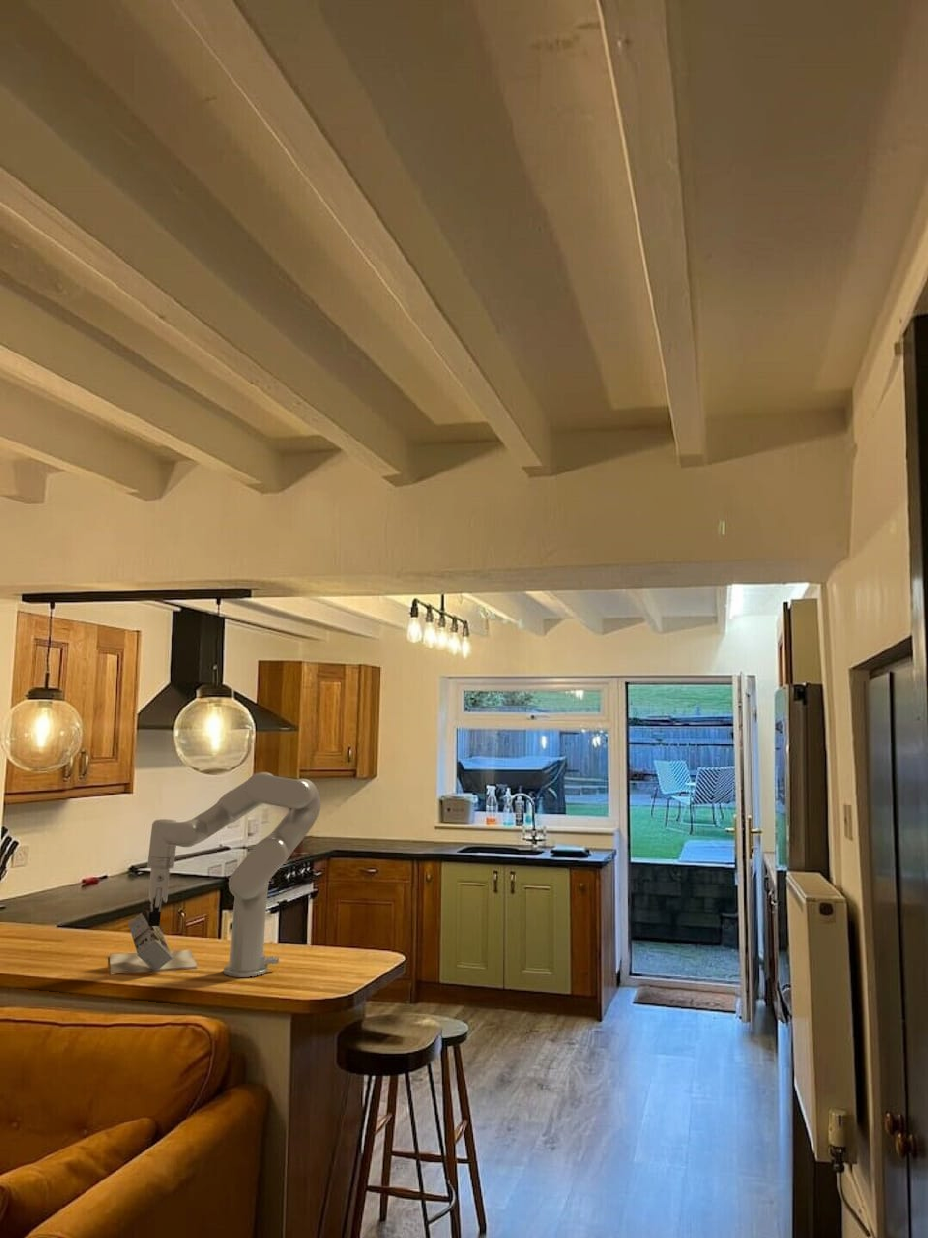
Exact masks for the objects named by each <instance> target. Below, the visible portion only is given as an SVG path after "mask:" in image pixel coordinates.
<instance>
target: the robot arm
mask: <svg viewBox="0 0 928 1238" xmlns="http://www.w3.org/2000/svg"><path fill="white" fill-rule="evenodd" d="M263 804H264V805H270V806H277V807H282V808H287V809H288V808H289V809H290V810H289V812H288V813H287V814H286V815H285V817H284V818H282V820H281V821H280V822H279V823H278V825H277V826H276V827H275V828H274V829H273V831H272V832H271V833H270V834H268V835H267V836H265V837H264V838H262V839H261V840H260V841H258V843H256V845H255V846H254V847H253V848H252V849H251V851H250V852H249V853H248V854H247V856H246V857H245V858H244V859H243V860H242V861H241V863H240V864H239V865H238V866H237V867H236V868H235V869H234V871H233V872H232V873H231V875H230V877H229V881H228V888H229V891H230V893H231V895H232V896H233V897H234V900H233V907H232V908H233V909H232V920H231V921H232V922H231V933H230V934H231V936H230V950H229V951H230V952H229V953H230V954H229V964H228V965H226V966H225V967H224V968H223V974H225V975H226V976H229V977H234V978H251V977H250V976H252V977H257V975H258V976H262V975H264V974H265V973H267V972H268V968H269V967H268V966H269V965H279V963H280V958H279V957H278V956H277V957H274V956H265V954H264V947H265V944H264V943H265V926H266V914H267V913H266V912H267V897H268V892H269V891H268V889H269V881H270V880H271V879H272V877H273V876H275V874H277V872H278V870H279V869H280V868H281V867H282V866H284V864H285V863H286V862H287V861H288V860H289V858H290V856H291V855H292V853H293V852H294V851H295V849H296V848H297V847H298V846H299V845H300V843H301V842H302V841H303V840H304V838H306V836H307V835H308V833H309V832H310V831H311V829H312V828H313V826H314V825H315V823H316V822H317V820H318V817H319V815H320V810H321V797H320V793H319V790H318V788H317V786H316V785H315V784H314V782H312V781H311V780H309V779H308V778H297V779H294V778H289V777H282V776H277V775H274V774H272V773H270V772H267V771H261V772H256V773H254V774H252V775H251V776H250V777H249V778H248V779H247V780H246V781H244V782H243V783H241V784H239V785H238V786H237V787H234V788H233V789H232V790H230V791H228V792H227V793H225V794H224V795H223V796H221V797H220V798H219V799H218V801H216V802H215V804H214V805H212V806H210V807H209V808H208V809H206V810H204V811H203V812H202V813H200V814H198V815H197V816H195V817H194V818H192V819H188V820H187V821H183V822H182V821H181V822H179V821H178V822H177V821H176V820H174V819H166V818H165V819H161V818H160V819H156V820H154V821H153V822H152V824H151V830H150V838H149V845H148V846H149V848H148V855H147V865H146V867H147V868H150V872H149V873H150V874H149V885H148V899H149V900H148V901H149V902H150V906H149V907H150V909H149V911H148V912H149V918H148V926H159V925H160V924H161V915H162V914H161V913H162V911H161V910H162V909H161V908H162V904H163V903H165V904H166V903H167V902H168V897H169V886H170V884H169V883H170V873H171V872H170V870H171V869H174V864H175V857H176V856H175V855H176V849H177V848H176V847H180V848H192V847H193V846H196V845H197V844H201V843H202V842H204V841H205V840H207V839H208V838H210V837H212V836H213V835H215V834H216V833H217V832H219V831H221V830H222V829H223V828H226V827H227V826H229V825H230V824H233V823H235V822H236V821H238V820H239V819H242V817H244V816H245V815H247V814H249V813H250V812H252V811H253V810H255V809H256V808H258V807H260V806H261V805H263ZM162 902H163V903H162ZM160 926H161V925H160ZM261 974H262V975H261Z"/></svg>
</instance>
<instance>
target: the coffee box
mask: <svg viewBox="0 0 928 1238" xmlns="http://www.w3.org/2000/svg"><path fill="white" fill-rule="evenodd" d="M148 918H149V911H148V910H147V909H144V910H143V911H141V913H139V914H137V915H136V916H135V917H134V918H133V919H131V920H130V921H128V922H127V923H128V928H129V930H130V934H131V937H132V940H133V944H134V947H135V950H136V953H137V954H138V956H139V957H140V958H141V959H142V960H143V961H144V962H145V963H146V964H147V965H148V966H149V967H150V968H151V969H152V970H153V971H154V972H153V973H156V972H158V971H157V970H159V969H160V968H161V967H163V966H164V965H165V964H166V963H168V962H169V961H170V960H172V959H173V958H172V955H171V952H170V951H171V950H170V947H169V945H168V942H167V939H166V936H165V934H164V931H163V928H162V926H161V925H159V926H148Z"/></svg>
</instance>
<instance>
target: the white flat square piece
mask: <svg viewBox="0 0 928 1238" xmlns="http://www.w3.org/2000/svg"><path fill="white" fill-rule="evenodd" d="M170 952H171V955H172V958H173V959H172V960H170V961H169V962H168V963H166V964H165V965H164V966H163V967H161V968H160V969H159V970H157V971H156V972H164V971H165V972H166V971H181V970H182V971H183V970H196V969H198V965H197V963H196V960H195V958H194V955H193V953H192V951H191V949H176V950H170ZM109 965H110V966H109V967H111V969H110V974H111V973H125V974H136V973H138V974H140V973H152V972H153V973H155V972H154V971H153V970H152V969H151V968H150V967H149V966H148V965H147V964H146V963H145V962H144V961H143V960H142V959H141V958H140V957H139V956H138V954H137V952H129V953H127V952H126V953H114V954H113V953H111V954H109Z"/></svg>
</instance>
